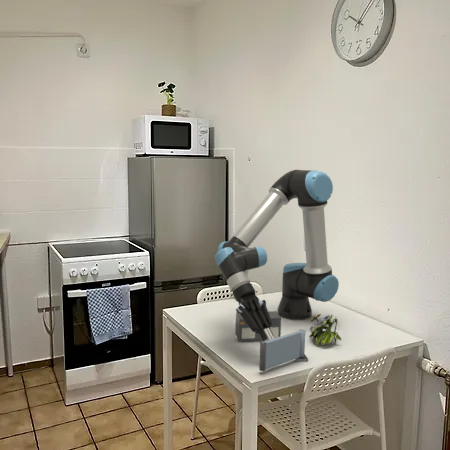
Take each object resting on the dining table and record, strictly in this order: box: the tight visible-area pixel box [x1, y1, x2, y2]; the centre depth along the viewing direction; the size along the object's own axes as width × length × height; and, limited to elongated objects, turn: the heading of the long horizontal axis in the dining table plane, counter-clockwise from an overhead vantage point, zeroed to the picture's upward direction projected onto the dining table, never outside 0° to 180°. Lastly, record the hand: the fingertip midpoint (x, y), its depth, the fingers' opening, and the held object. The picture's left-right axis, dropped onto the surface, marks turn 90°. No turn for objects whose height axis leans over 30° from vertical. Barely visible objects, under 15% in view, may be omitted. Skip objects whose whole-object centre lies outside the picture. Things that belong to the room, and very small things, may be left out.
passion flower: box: [308, 313, 342, 347], centre depth 187 cm, size 13×12×14 cm
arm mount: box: [294, 353, 309, 362], centre depth 171 cm, size 4×4×1 cm
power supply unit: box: [235, 310, 282, 343], centre depth 189 cm, size 16×9×9 cm, turn 98°
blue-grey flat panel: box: [258, 329, 307, 372], centre depth 165 cm, size 21×2×9 cm, turn 129°
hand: (273, 347), depth 164 cm, fingers closed
